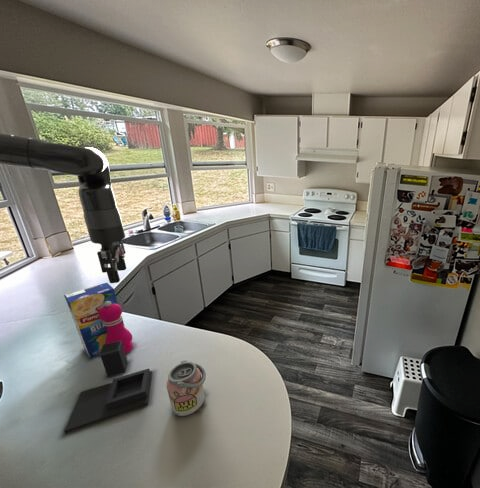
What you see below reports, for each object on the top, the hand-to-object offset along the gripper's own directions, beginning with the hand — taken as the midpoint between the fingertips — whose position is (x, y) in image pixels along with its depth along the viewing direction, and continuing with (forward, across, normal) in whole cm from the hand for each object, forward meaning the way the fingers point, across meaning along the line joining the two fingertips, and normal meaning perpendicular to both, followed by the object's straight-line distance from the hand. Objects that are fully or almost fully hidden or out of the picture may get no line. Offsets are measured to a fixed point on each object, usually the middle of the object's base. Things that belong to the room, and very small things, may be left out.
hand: (118, 275), depth 75 cm
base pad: (+31, +16, -4) cm, 35 cm away
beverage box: (+31, -11, -11) cm, 35 cm away
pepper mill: (+31, -6, -6) cm, 32 cm away
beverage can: (+31, +26, +16) cm, 43 cm away
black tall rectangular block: (+31, +4, -5) cm, 32 cm away
